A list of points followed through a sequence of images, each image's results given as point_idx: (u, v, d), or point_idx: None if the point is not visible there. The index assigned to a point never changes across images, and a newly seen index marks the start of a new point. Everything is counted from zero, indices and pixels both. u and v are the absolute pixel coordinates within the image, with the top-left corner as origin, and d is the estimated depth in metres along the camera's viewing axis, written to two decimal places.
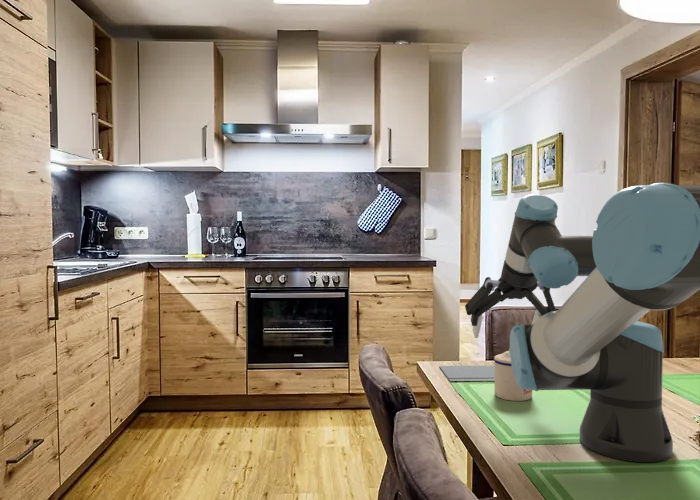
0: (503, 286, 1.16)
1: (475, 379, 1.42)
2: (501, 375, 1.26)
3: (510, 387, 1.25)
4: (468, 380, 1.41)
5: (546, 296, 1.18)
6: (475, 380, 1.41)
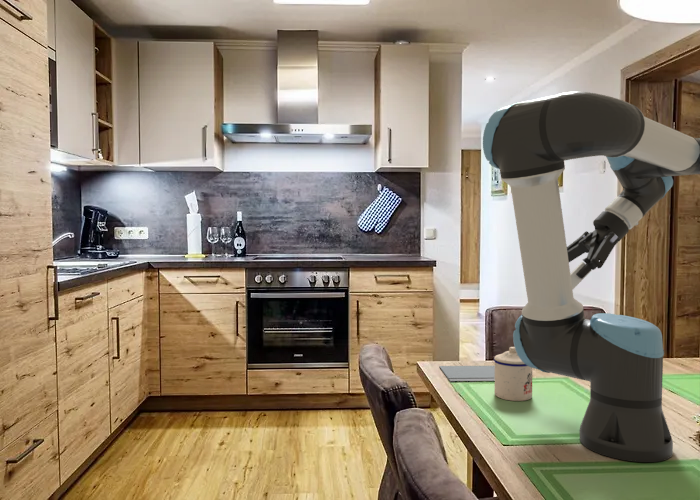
0: None
1: (475, 379, 1.42)
2: (501, 375, 1.26)
3: (510, 387, 1.25)
4: (468, 380, 1.41)
5: (602, 242, 1.23)
6: (475, 380, 1.41)
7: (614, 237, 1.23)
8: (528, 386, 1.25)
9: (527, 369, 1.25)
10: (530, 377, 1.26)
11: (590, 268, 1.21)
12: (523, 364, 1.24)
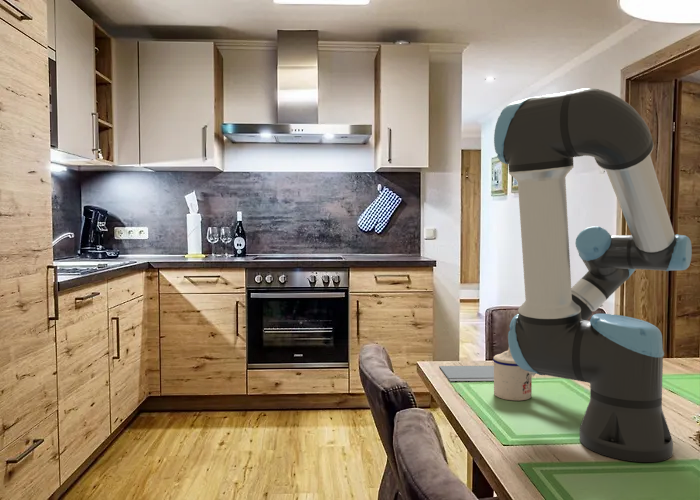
0: None
1: (475, 379, 1.42)
2: (500, 375, 1.27)
3: (508, 386, 1.25)
4: (468, 380, 1.41)
5: None
6: (475, 380, 1.41)
7: None
8: (527, 386, 1.25)
9: None
10: (529, 377, 1.26)
11: None
12: None
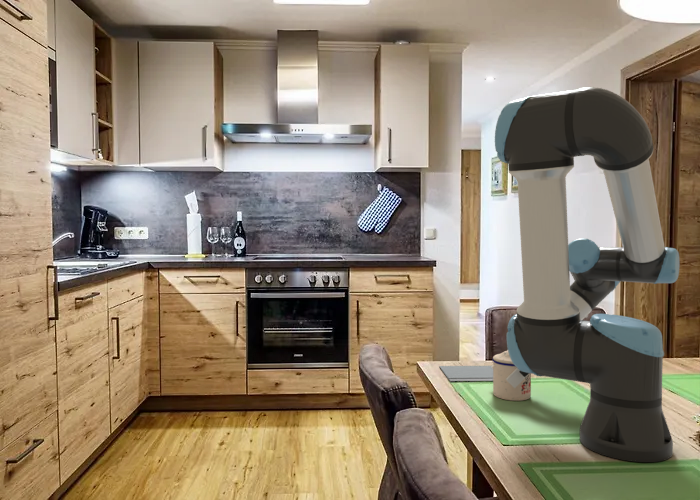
0: None
1: (475, 379, 1.42)
2: (499, 375, 1.27)
3: (507, 386, 1.25)
4: (468, 380, 1.41)
5: None
6: (475, 380, 1.41)
7: None
8: (526, 386, 1.25)
9: None
10: (528, 377, 1.26)
11: None
12: None
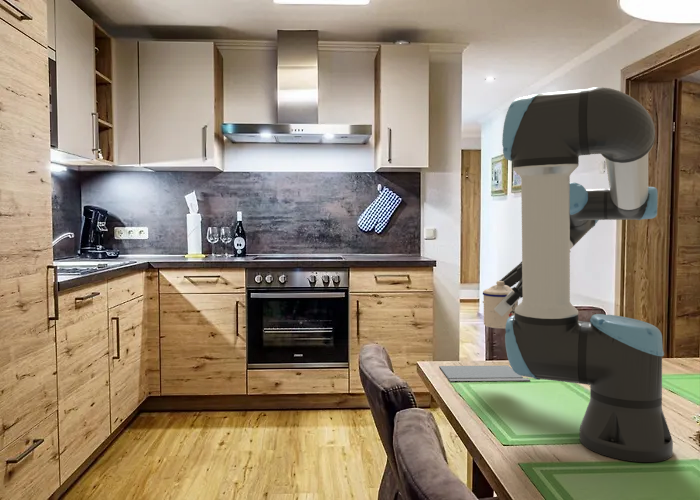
0: None
1: (475, 379, 1.42)
2: (488, 306, 1.39)
3: (496, 316, 1.37)
4: (468, 380, 1.41)
5: None
6: (475, 380, 1.41)
7: None
8: (513, 315, 1.37)
9: None
10: (515, 307, 1.38)
11: (518, 296, 1.34)
12: None
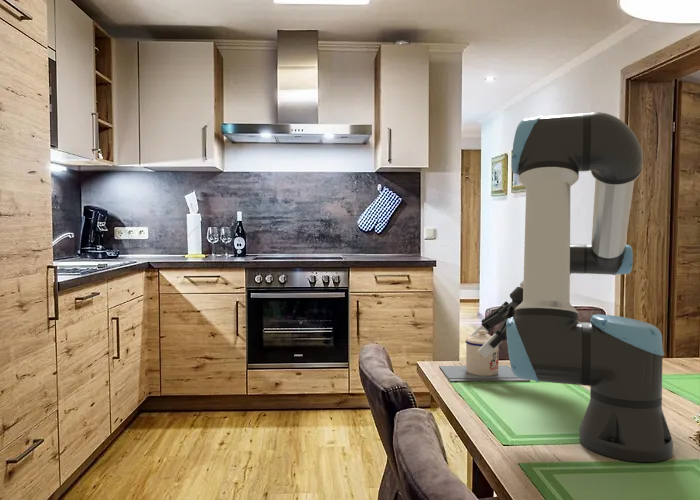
0: (508, 304, 1.53)
1: (475, 379, 1.42)
2: (471, 354, 1.47)
3: (477, 364, 1.45)
4: (468, 380, 1.41)
5: (512, 316, 1.43)
6: (475, 380, 1.41)
7: None
8: (494, 363, 1.45)
9: None
10: (496, 356, 1.46)
11: (500, 339, 1.42)
12: None
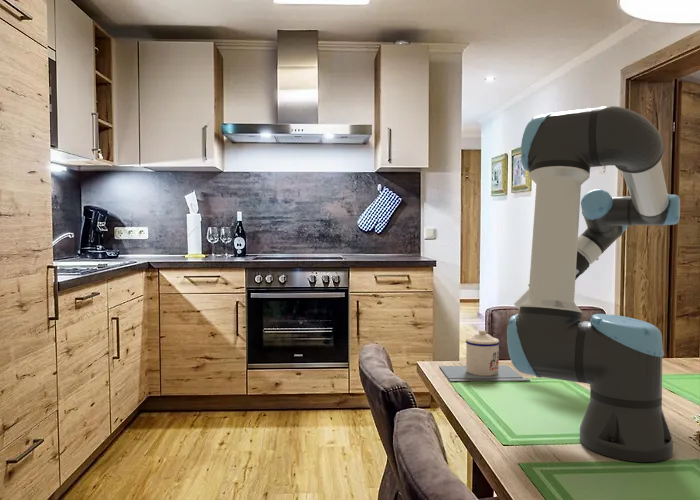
0: None
1: (475, 379, 1.42)
2: (471, 354, 1.47)
3: (477, 364, 1.45)
4: (468, 380, 1.41)
5: None
6: (475, 380, 1.41)
7: (576, 272, 1.42)
8: (494, 363, 1.45)
9: (493, 349, 1.45)
10: (496, 356, 1.46)
11: None
12: (489, 344, 1.45)
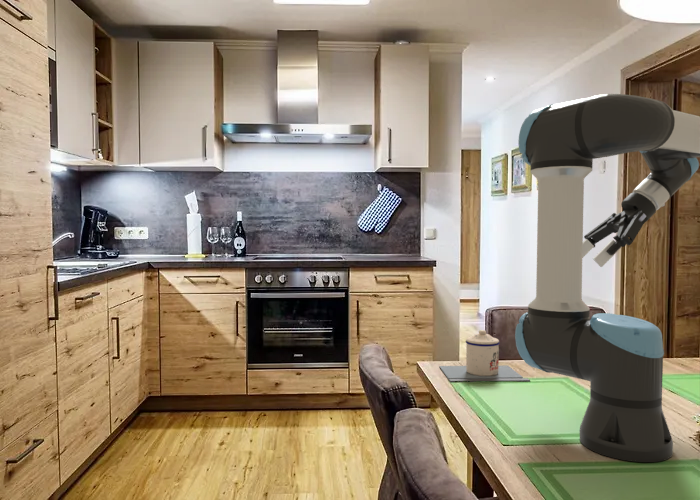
0: None
1: (475, 379, 1.42)
2: (471, 354, 1.47)
3: (477, 364, 1.45)
4: (468, 380, 1.41)
5: (631, 221, 1.29)
6: (475, 380, 1.41)
7: (643, 216, 1.29)
8: (494, 363, 1.45)
9: (493, 349, 1.45)
10: (496, 356, 1.46)
11: (620, 245, 1.27)
12: (489, 344, 1.45)
